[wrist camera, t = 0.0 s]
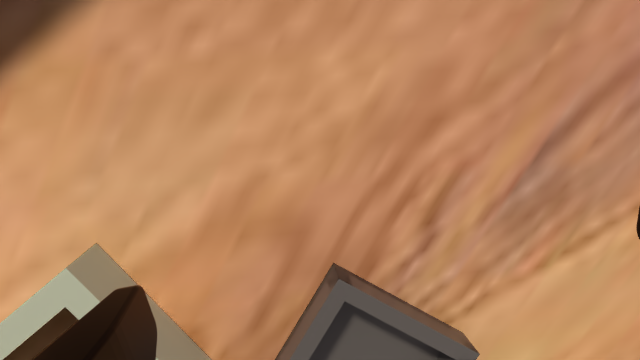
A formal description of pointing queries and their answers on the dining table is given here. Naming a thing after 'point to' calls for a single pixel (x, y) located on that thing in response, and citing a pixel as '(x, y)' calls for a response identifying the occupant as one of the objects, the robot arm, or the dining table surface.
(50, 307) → the pale green u-channel
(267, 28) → the dining table surface
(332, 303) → the dark gray open tray
